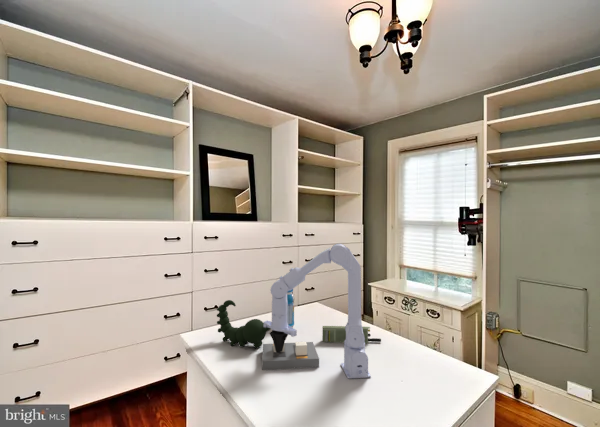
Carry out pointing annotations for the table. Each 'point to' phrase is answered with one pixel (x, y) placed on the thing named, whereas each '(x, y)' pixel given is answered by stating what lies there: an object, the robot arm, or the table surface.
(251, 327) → the toy figurine
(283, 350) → the tab
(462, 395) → the table surface
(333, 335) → the handheld radio
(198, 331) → the table surface
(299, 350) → the tab
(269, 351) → the switch panel
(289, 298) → the beverage bottle
